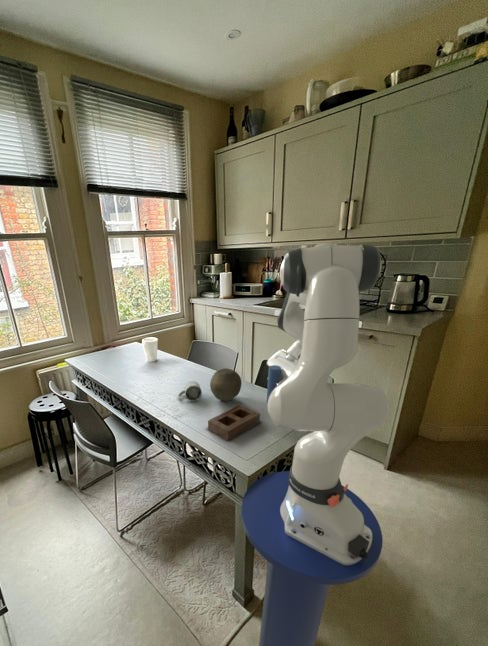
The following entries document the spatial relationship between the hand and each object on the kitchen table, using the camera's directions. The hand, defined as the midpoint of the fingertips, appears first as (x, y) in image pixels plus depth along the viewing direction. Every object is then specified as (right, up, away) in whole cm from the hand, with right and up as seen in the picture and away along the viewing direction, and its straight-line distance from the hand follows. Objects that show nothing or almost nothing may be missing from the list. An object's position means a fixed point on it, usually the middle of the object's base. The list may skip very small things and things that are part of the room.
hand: (273, 383), depth 122 cm
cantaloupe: (-16, -8, +21) cm, 28 cm away
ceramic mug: (-32, -7, +24) cm, 41 cm away
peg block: (-15, -17, +2) cm, 22 cm away
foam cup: (-56, +14, +72) cm, 92 cm away
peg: (+1, -8, +4) cm, 8 cm away
